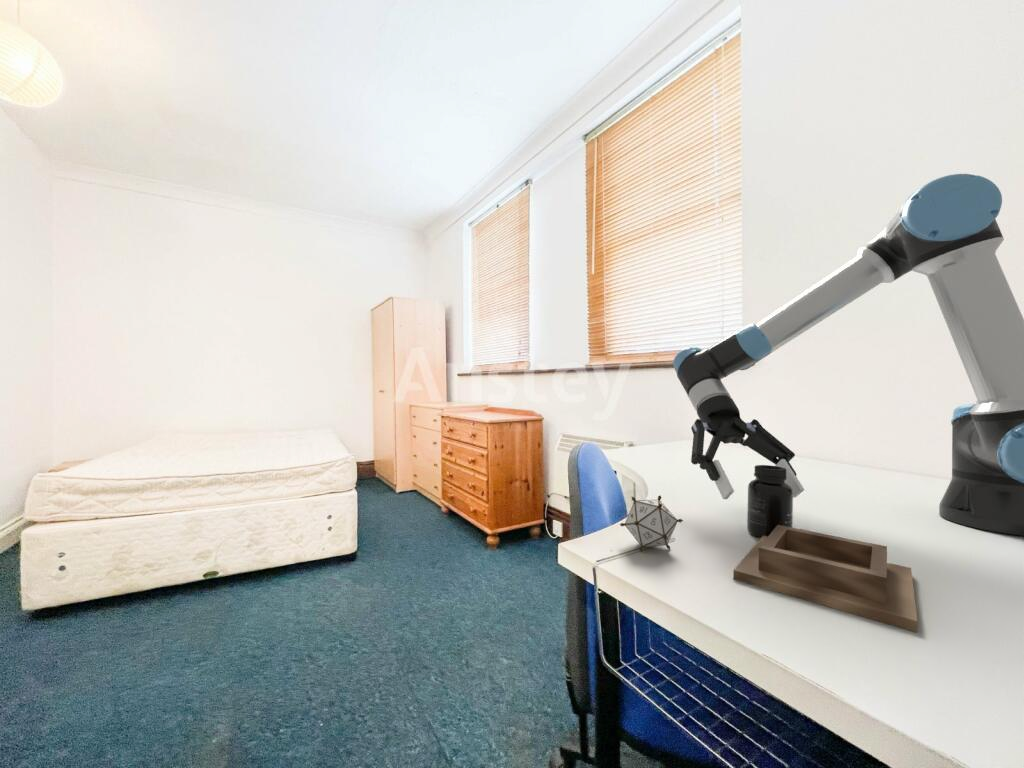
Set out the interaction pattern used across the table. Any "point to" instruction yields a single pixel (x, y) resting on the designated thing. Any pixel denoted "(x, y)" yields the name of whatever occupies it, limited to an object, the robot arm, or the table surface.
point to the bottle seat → (832, 574)
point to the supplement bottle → (769, 501)
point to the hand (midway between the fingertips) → (764, 494)
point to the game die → (650, 523)
